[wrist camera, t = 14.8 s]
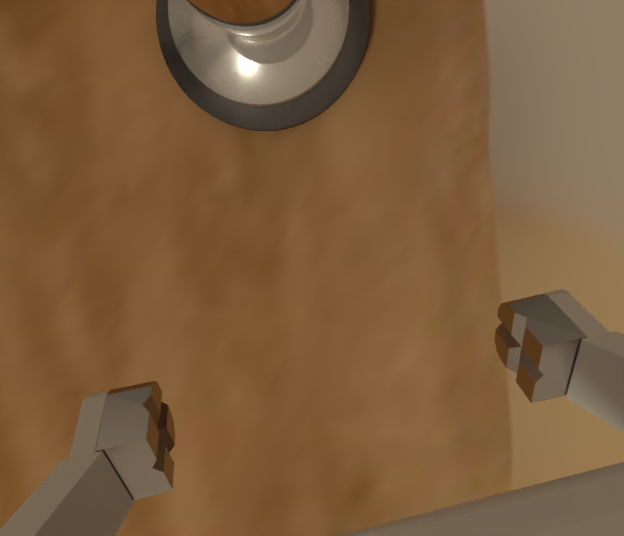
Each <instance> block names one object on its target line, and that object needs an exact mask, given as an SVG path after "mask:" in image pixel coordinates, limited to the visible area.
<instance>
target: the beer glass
mask: <svg viewBox="0 0 624 536" xmlns="http://www.w3.org/2000/svg"><path fill="white" fill-rule="evenodd" d="M186 1H187V2H188V3H189V5H190V6H191V7H192V8H193V9H194V10H195V11H196V12H198V13H199V14H200V15H201V16H203V17H204V18H206V19H207V20H208V21H210V22H211V23H213V24H215V25H216V26H218V27H220V28H222V29H223V30H224V33H225V35H226V37H227V39H228V41H229V43H230V44H231V46H232V47H233V48H234V49H235V50H236V51H237V52H238V53H239V54H240V55H241V56H243V57H244V58H246V59H248V60H250V61H252V62H255V63H259V64H277V63H281V62H284V61H286V60H288V59H290V58H291V57H293V56H294V55H295V54H297V53H298V52H299V51H300V50H301V49H302V47H303V46H304V45H305V43H306V41H307V40H308V38H309V36H310V33H311V30H312V27H313V21H314V9H313V3H312V0H186Z"/></svg>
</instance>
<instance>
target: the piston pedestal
mask: <svg viewBox="0 0 624 536" xmlns="http://www.w3.org/2000/svg"><path fill="white" fill-rule="evenodd" d="M312 3H313V9H314V21H313V27H312V30H311V33H310V36H309V38H308V40H307V41H306V43H305V45H304V46H303V47H302V49H301V50H300V51H299V52H298V53H297V54H295V55H294V56H293V57H291V58H290V59H288V60H286V61H284V62H281V63H277V64H259V63H255V62H252V61H250V60H248V59H246V58H244V57H243V56H241V55H240V54H239V53H238V52H237V51H236V50H235V49H234V48H233V47H232V46H231V44H230V43H229V41H228V39H227V37H226V35H225V33H224V30H223V29H222V28H220V27H218V26H216V25H215V24H213V23H211V22H210V21H208V20H207V19H206V18H204V17H203V16H201V15H200V14H199V13H198V12H196V11H195V10H194V9H193V8H192V7H191V6H190V5H189V3H188V2H187V1H186V0H157V4H156V23H157V32H158V38H159V42H160V47H161V50H162V53H163V56H164V59H165V61H166V64H167V66H168V68H169V70H170V72H171V74H172V76H173V77H174V79H175V80H176V82H177V83H178V85H179V86H180V88H181V89H182V90H183V91H184V92H185V93H186V94H187V96H188V97H189V98H190V99H191V100H192V101H193V102H194V103H196V104H197V105H198V106H199V107H200V108H201V109H203V110H204V111H206V112H207V113H209V114H210V115H212V116H213V117H215V118H217V119H219V120H221V121H223V122H225V123H227V124H230V125H233V126H236V127H239V128H243V129H248V130H254V131H276V130H283V129H287V128H292V127H295V126H298V125H300V124H303V123H305V122H307V121H309V120H311V119H313V118H315V117H317V116H318V115H320V114H321V113H323V112H324V111H325V110H327V109H328V108H329V107H330V106H331V105H332V104H334V103H335V102H336V101H337V100H338V99H339V97H340V96H341V95H342V94H343V93H344V92H345V90H346V89H347V88H348V86H349V84H350V83H351V81H352V80H353V78H354V76H355V74H356V72H357V70H358V68H359V66H360V64H361V61H362V58H363V55H364V52H365V48H366V43H367V39H368V34H369V23H370V8H369V0H312Z"/></svg>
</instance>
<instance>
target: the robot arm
mask: <svg viewBox="0 0 624 536" xmlns="http://www.w3.org/2000/svg"><path fill="white" fill-rule="evenodd" d="M498 318H499V319H500V320H501V322H502V323H501V324H500V325H499V327H498V328H497V329H496V332H495V344H496V349H497V352H498V355H499V357H500V359H501V361H502V362H503V364H504V365H505V367H506V368H508V369H510V370H512V371H514V372H516V373H517V378H516V382H517V384H518V385H519V387H520V388H521V389H522V391H523V392H524V394H525V395H526V396H527V398H528V399H529V401H530V402H531V403H534V402H538V401H543V400H548V399H552V398H557V397H562V396H566V395H567V396H566V397H567V398H568V399H569V400H571V401H573V402H574V403H576V404H578V405H579V406H581V407H582V408H584V409H586V410H587V411H589V412H591V413H592V414H594V415H596V416H597V417H599V418H600V419H602V420H604V421H605V422H607V423H609V424H610V425H612V426H613V427H615V428H617V429H618V430H620V431H622V432H623V433H624V334H622V333H619V332H617V331H615V332H609V331H608V330H607V329H606V328H604V326H603V325H602V324H601V323H599V322H598V321H597V320H596V319H595V318H594V317H593V316H592V315H591V314H590V313H589V312H588V311H587V310H586V309H585V308H584V307H583V306H582V305H581V304H580V303H579V302H578V301H577V300H576V299H575V298H574V297H573V296H572V295H571V294H570V293H569V292H567V291H565V290H563V289H560V290H556V291H551V292H547V293H543V294H541V295H535V296H530V297H526V298H522V299H518V300H513V301H509V302H505V303H501V305H500V307H499V309H498ZM161 400H162V391H161V389H160V387H159V385H158V383H157V382H155V381H153V382H147V383H142V384H137V385H132V386H127V387H122V388H117V389H112V390H110V391H105V392H100V393H95V394H89V395H87V396H86V397H85V399H84V400H83V402H82V406H81V410H80V414H79V418H78V422H77V426H76V430H75V434H74V438H73V442H72V446H71V451H70V455H69V459H65V460H61V461H60V463H59V464H58V465H57V466H56V467H55V468H54V469H53V471H52V472H51V473H50V474H49V475H48V476H47V477H46V478H45V480H44V481H43V482H42V483H41V484H40V485H39V486H38V487H37V489H36V490H35V491H34V492H33V493H32V494H31V495H30V496H29V498H28V499H27V500H26V501H25V502H24V503H23V504H22V505H21V507H20V508H19V509H18V510H17V511H16V512H15V513H14V514H13V516H12V517H11V518H10V519H9V520H8V521H7V522H6V523H5V525H4V526H3V527H2V528H1V529H0V536H115V534H116V533H117V531H118V529H119V528H120V526H121V524H122V522H123V521H124V519H125V517H126V516H127V514H128V512H129V511H130V509H131V507H132V505H133V504H134V502H133V500H137V499H141V498H144V497H148V496H152V495H156V494H159V493H163V492H167V491H170V490H172V489H173V470H174V462H173V460H172V458H171V456H170V454H169V453H170V451H171V450H172V448H173V447H174V446H175V430H174V421H173V418H172V414H171V411H170V409H169V406H168V405H167V404H165V403H163V402H161ZM338 536H624V462H622V463H618V464H614V465H610V466H606V467H602V468H598V469H594V470H590V471H587V472H583V473H579V474H575V475H571V476H567V477H564V478H559V479H555V480H552V481H548V482H544V483H541V484H536V485H533V486H529V487H525V488H521V489H517V490H513V491H509V492H505V493H501V494H497V495H493V496H489V497H486V498H482V499H478V500H474V501H470V502H466V503H462V504H458V505H455V506H451V507H447V508H443V509H439V510H435V511H431V512H427V513H424V514H420V515H416V516H412V517H408V518H404V519H400V520H396V521H392V522H389V523H385V524H381V525H377V526H373V527H369V528H365V529H361V530H357V531H354V532H350V533H346V534H342V535H338Z"/></svg>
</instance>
